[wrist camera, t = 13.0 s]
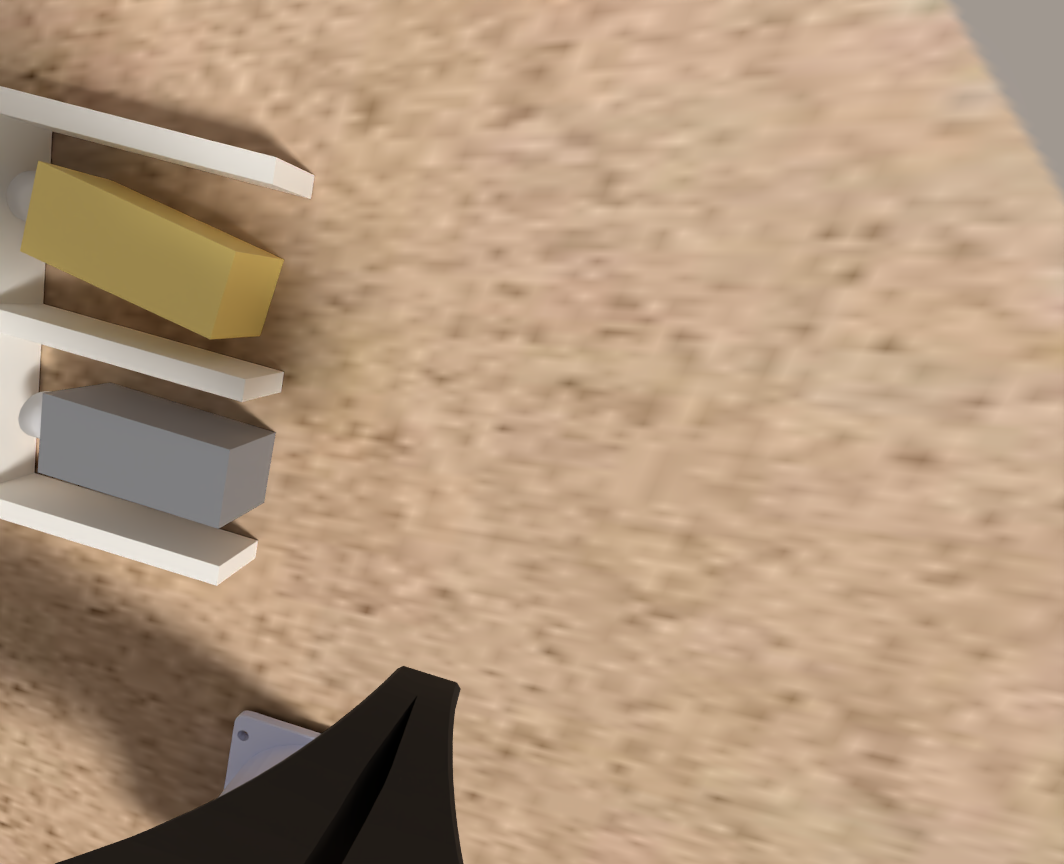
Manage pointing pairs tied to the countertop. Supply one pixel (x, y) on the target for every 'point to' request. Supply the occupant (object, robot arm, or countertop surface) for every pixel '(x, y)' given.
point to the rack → (110, 345)
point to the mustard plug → (144, 251)
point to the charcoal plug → (150, 451)
